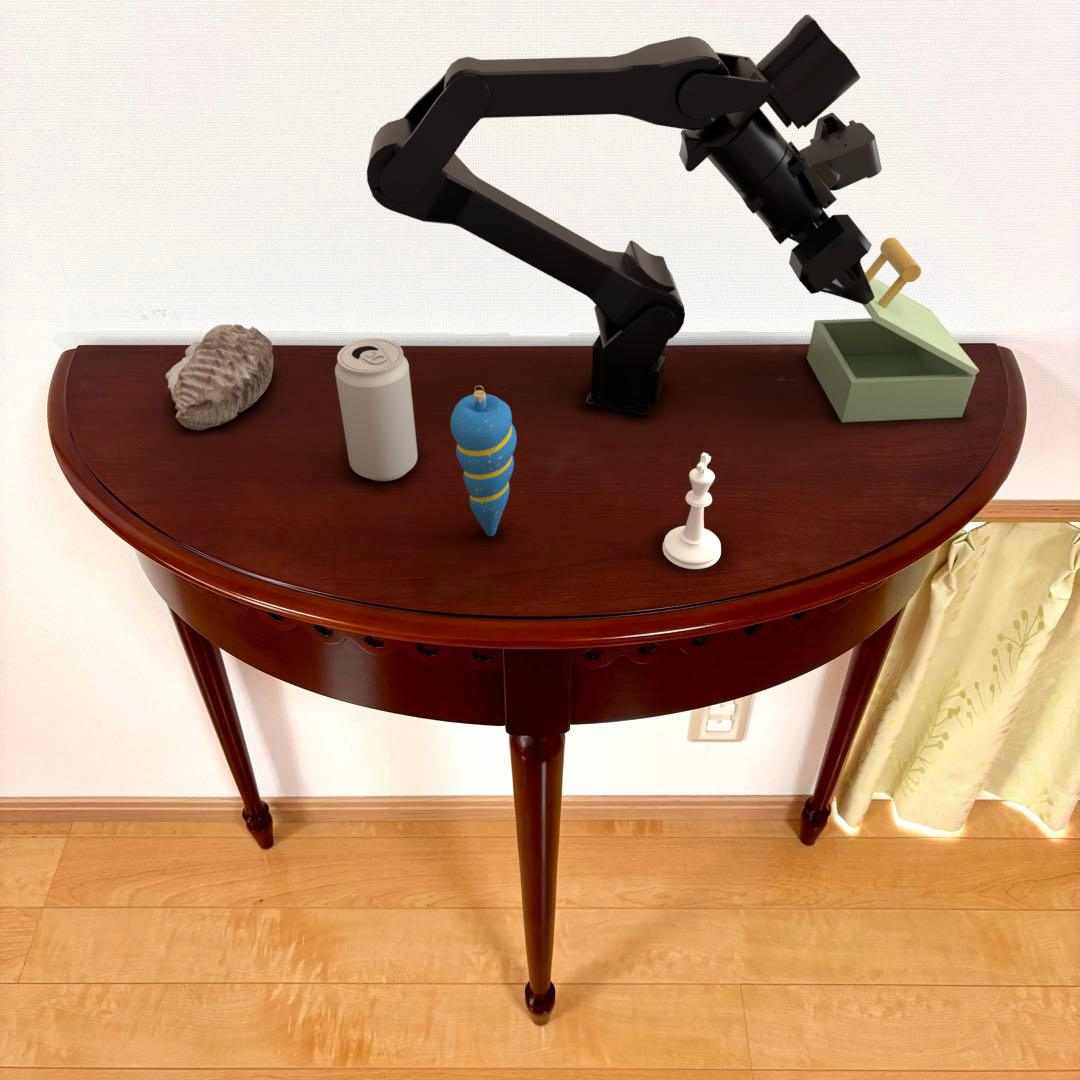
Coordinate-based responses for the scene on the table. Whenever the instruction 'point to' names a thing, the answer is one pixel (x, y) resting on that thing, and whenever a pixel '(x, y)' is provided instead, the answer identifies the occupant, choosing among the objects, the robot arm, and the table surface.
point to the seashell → (220, 376)
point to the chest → (883, 374)
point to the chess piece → (695, 525)
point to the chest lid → (910, 308)
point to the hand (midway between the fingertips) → (853, 278)
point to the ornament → (485, 454)
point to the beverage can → (377, 408)
